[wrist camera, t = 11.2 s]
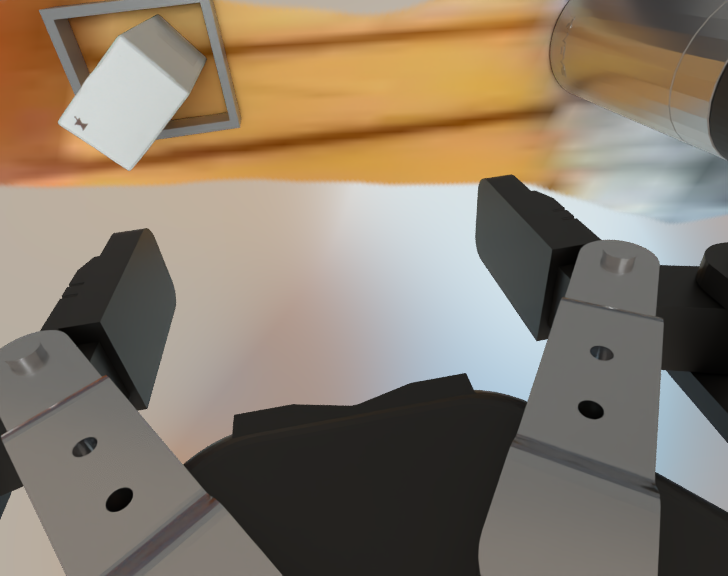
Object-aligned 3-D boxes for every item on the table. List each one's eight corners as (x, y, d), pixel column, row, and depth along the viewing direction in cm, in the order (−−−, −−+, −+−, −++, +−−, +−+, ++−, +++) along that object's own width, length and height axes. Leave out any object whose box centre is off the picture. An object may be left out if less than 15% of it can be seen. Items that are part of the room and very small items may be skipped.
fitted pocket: (210, -12, 33) (206, -10, 30) (241, 118, 38) (240, 127, 36) (53, 6, 32) (38, 10, 30) (106, 137, 37) (97, 148, 35)
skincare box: (163, 119, 37) (128, 175, 27) (110, 78, 34) (51, 123, 25) (211, 57, 35) (192, 94, 25) (158, 10, 33) (115, 30, 23)
